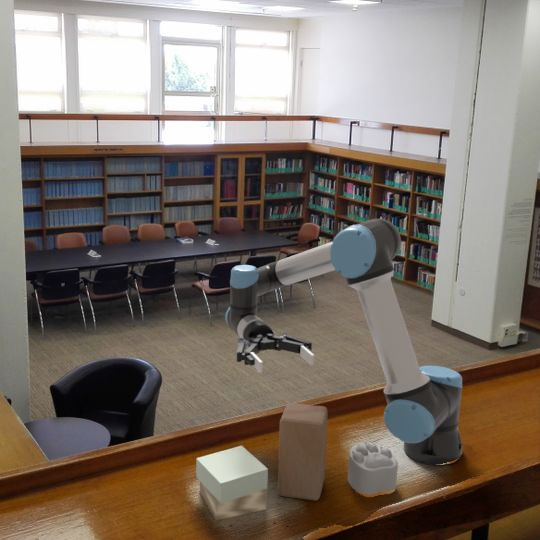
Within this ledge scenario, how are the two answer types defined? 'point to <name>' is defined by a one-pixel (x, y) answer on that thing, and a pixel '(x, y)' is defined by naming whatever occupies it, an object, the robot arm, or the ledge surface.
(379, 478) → the lumpy-topped squat cylinder
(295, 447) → the block
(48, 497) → the ledge surface
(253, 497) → the tower bottom
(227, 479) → the tower top
